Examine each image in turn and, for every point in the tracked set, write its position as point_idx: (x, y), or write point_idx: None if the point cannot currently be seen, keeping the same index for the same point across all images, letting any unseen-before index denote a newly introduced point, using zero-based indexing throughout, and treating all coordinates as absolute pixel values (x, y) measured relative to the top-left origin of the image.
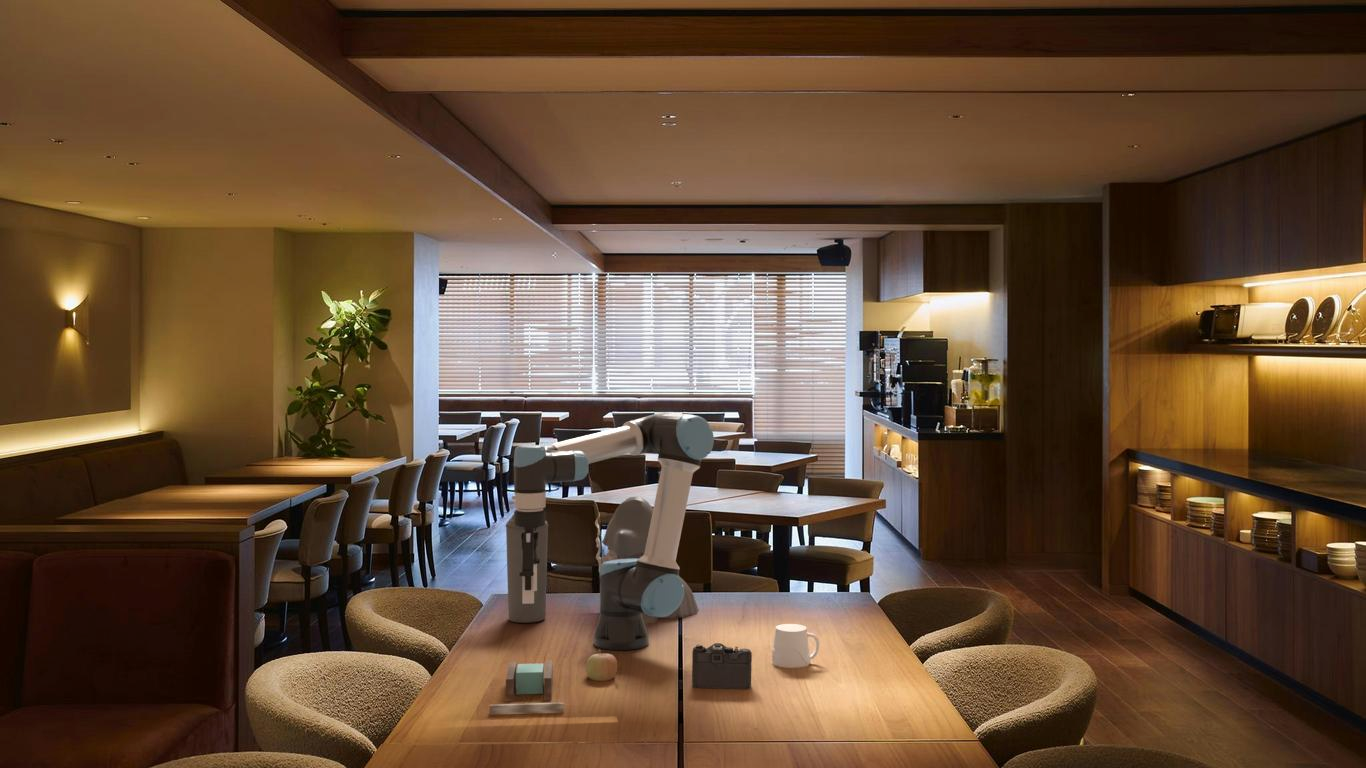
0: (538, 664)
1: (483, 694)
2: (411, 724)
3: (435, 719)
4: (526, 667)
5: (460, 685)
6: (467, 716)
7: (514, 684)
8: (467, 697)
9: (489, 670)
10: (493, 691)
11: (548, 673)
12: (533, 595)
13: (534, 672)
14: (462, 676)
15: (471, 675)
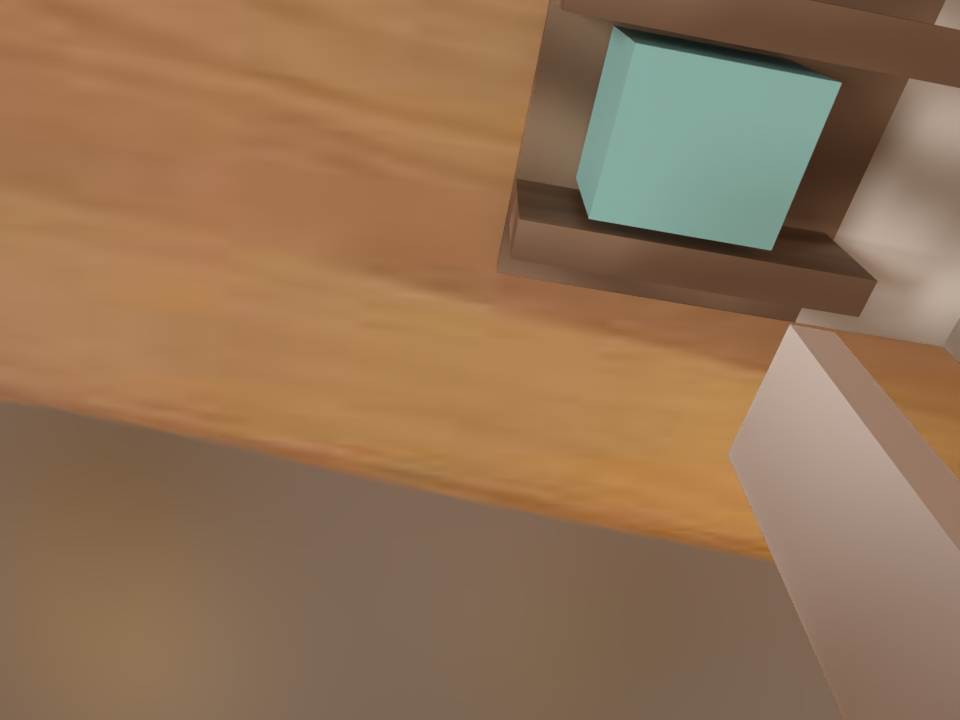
0: (647, 85)
1: (590, 332)
2: None
3: None
4: (686, 176)
5: (429, 407)
6: None
7: None
8: (608, 394)
9: (206, 273)
10: (560, 287)
11: (883, 42)
12: (889, 406)
13: (817, 139)
14: (295, 391)
15: (284, 356)
